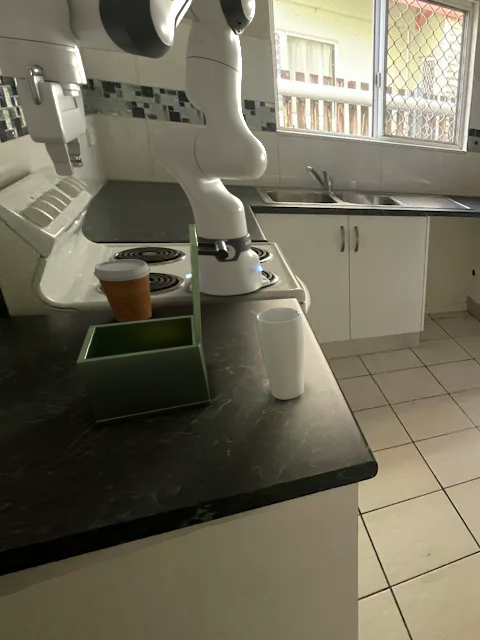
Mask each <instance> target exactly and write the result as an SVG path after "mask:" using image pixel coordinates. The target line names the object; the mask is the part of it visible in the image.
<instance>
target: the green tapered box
mask: <svg viewBox="0 0 480 640" xmlns="http://www.w3.org/2000/svg"><path fill="white" fill-rule="evenodd" d="M76 366H77V369H78V371H79V374H80V378H81V381H82V384H83V387H84V390H85V393H86V397H87V400H88V403H89V405H90V408H91V412H92V416H93V417H94V421H95V424H96V426H97V427H98V426H103V425H104V426H105V425H109V424H116V423H120V422H125V421H130V420H136V419H140V418H146V417H151V416H156V415H157V416H158V415H161V414H167V413H173V412H178V411H182V410H187V409H193V408H199V407H204V406H209V405H211V396H210V389H209V388H210V387H209V379H208V371H207V364H206V358H205V354H204V348H203V342H201V343H195V332H194V320H193V314H191V315H180V316H171V317H163V318H151V319H146V320H142V321H132V322H114V323H113V322H112V323H106V324H105V323H104V324H95V325H89V327H88V330H87V332H86V335H85V338H84V340H83V345H82V346H81V348H80V352H79V355H78V358H77V360H76Z"/></svg>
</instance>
